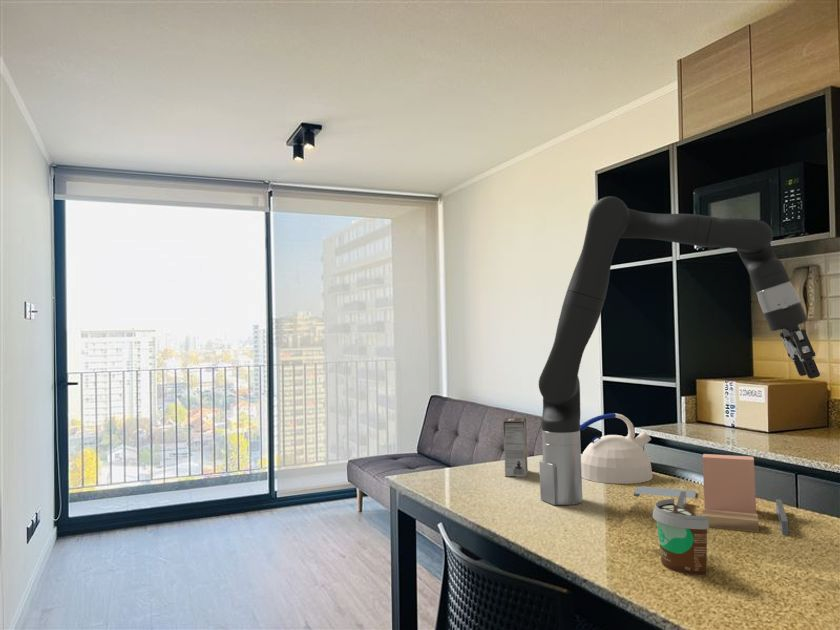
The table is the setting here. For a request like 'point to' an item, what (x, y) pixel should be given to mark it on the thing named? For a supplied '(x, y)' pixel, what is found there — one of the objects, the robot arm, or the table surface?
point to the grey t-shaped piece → (663, 492)
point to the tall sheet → (729, 483)
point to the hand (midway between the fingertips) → (809, 376)
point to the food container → (681, 538)
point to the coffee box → (515, 447)
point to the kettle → (616, 456)
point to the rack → (779, 510)
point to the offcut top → (732, 520)
